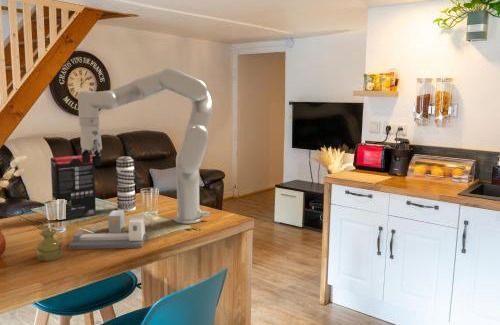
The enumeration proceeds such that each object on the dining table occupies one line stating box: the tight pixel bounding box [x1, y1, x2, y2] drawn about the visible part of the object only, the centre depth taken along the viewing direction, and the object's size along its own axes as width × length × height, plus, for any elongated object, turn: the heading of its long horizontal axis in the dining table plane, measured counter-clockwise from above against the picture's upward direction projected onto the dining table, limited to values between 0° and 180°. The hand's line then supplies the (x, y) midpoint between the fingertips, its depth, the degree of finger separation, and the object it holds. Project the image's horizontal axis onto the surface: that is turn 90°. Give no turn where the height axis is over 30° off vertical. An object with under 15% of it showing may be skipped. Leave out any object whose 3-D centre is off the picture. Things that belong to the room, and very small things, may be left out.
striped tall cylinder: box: [114, 155, 137, 212], centre depth 200 cm, size 9×9×25 cm
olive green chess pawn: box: [36, 227, 63, 262], centre depth 141 cm, size 7×7×10 cm
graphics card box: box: [50, 154, 97, 221], centre depth 186 cm, size 17×7×27 cm, turn 134°
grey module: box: [107, 209, 126, 233], centre depth 170 cm, size 4×9×7 cm, turn 6°
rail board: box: [68, 215, 148, 250], centre depth 156 cm, size 25×13×9 cm, turn 95°
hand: (91, 164), depth 173 cm, fingers open, 9 cm apart
